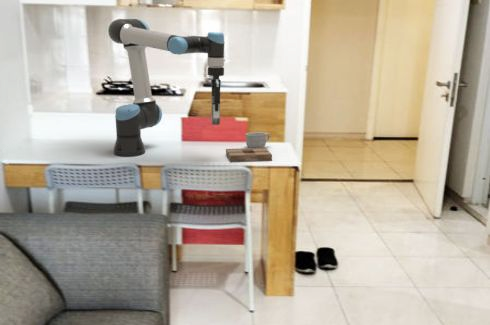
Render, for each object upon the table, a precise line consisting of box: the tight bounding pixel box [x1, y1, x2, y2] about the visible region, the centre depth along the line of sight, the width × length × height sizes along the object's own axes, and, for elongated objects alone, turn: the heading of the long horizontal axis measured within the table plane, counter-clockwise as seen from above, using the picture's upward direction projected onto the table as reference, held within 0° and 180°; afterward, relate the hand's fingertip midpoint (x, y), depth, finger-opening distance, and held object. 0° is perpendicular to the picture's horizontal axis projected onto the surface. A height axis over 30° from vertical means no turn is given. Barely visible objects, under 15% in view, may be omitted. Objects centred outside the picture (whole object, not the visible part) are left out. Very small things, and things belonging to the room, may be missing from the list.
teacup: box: [245, 131, 271, 148], centre depth 276 cm, size 14×11×8 cm
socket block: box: [225, 147, 273, 163], centre depth 257 cm, size 14×20×3 cm
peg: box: [210, 95, 221, 126], centre depth 249 cm, size 4×4×13 cm
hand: (215, 117), depth 249 cm, fingers closed on peg, 4 cm apart
